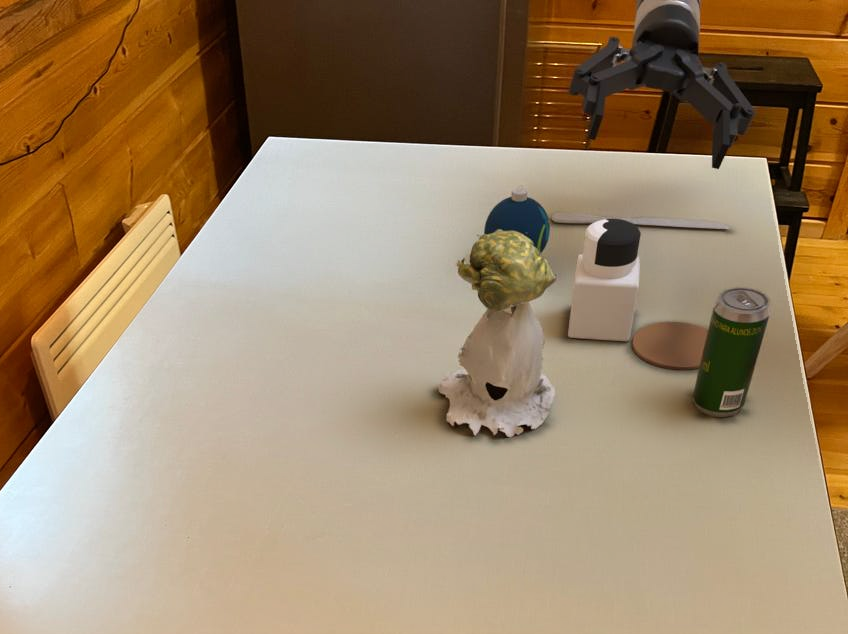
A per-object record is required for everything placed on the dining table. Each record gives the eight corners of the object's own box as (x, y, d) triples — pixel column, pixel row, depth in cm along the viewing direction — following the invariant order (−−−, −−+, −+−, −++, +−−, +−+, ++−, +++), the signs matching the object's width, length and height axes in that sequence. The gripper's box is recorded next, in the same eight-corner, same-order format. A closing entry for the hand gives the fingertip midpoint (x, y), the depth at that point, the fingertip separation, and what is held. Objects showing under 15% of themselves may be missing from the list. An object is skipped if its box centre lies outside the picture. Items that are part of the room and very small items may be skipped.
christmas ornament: (516, 284, 123) (522, 205, 116) (469, 263, 127) (472, 186, 120) (560, 262, 126) (568, 184, 119) (513, 242, 131) (518, 166, 124)
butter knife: (552, 210, 136) (550, 219, 134) (729, 220, 131) (729, 230, 129) (552, 213, 136) (550, 222, 134) (728, 223, 132) (728, 233, 130)
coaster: (704, 321, 115) (704, 318, 114) (734, 365, 108) (734, 362, 108) (621, 328, 114) (622, 325, 114) (646, 373, 108) (647, 370, 107)
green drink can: (753, 411, 102) (784, 305, 93) (710, 423, 101) (737, 317, 92) (724, 386, 105) (751, 281, 96) (681, 397, 104) (704, 293, 95)
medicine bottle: (630, 312, 117) (647, 213, 108) (629, 342, 112) (646, 241, 103) (571, 308, 118) (583, 210, 109) (567, 338, 113) (579, 238, 105)
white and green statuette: (539, 367, 109) (554, 204, 96) (565, 431, 101) (586, 261, 87) (435, 376, 109) (436, 213, 96) (453, 442, 100) (457, 272, 87)
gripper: (754, 94, 116) (756, 200, 105) (552, 47, 116) (534, 148, 105) (784, 29, 109) (790, 135, 98) (571, -21, 109) (553, 79, 98)
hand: (658, 142), depth 101 cm, fingers open, 13 cm apart
